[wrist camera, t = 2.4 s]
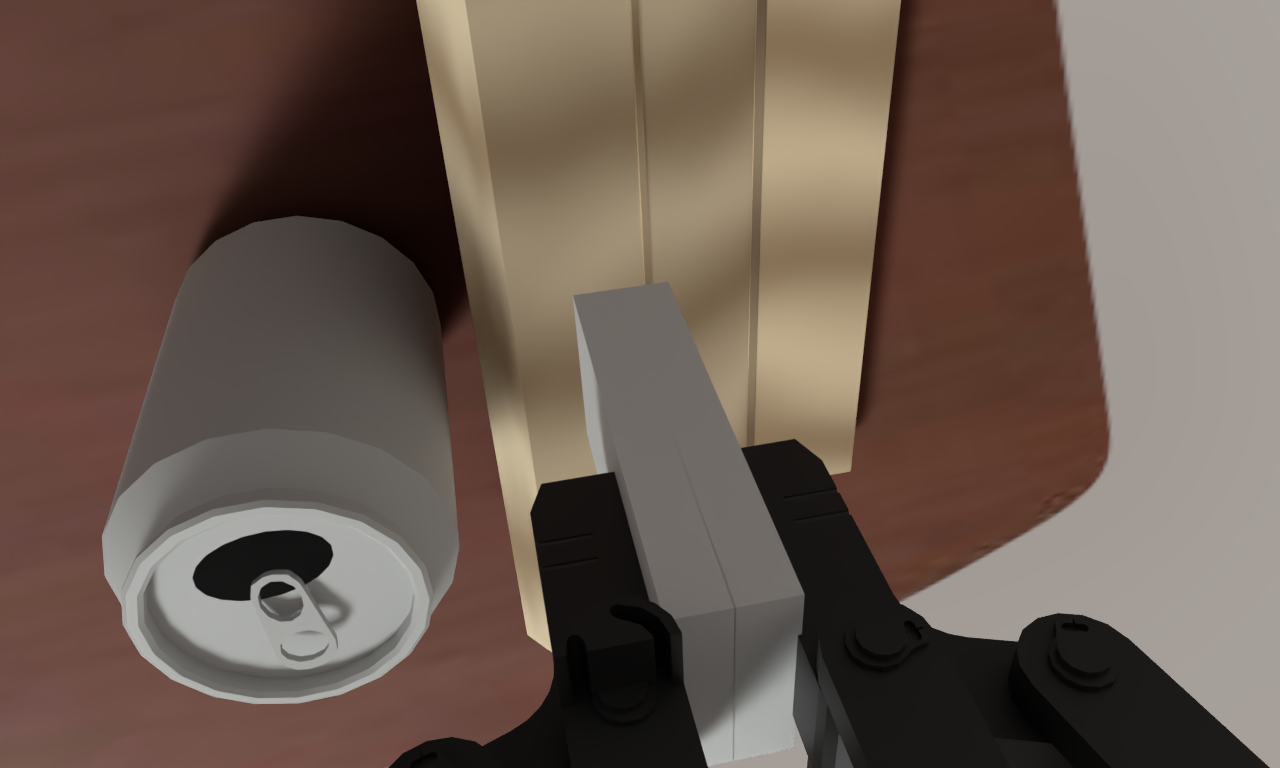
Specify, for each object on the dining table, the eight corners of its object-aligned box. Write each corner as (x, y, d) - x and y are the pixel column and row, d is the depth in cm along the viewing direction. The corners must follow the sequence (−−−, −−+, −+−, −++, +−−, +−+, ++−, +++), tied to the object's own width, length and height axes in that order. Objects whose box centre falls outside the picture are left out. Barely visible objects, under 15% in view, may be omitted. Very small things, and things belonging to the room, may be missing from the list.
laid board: (741, -130, 26) (759, -118, 24) (891, -144, 26) (916, -133, 25) (733, 462, 38) (745, 490, 36) (836, 445, 38) (850, 472, 37)
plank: (410, -32, 20) (463, -20, 19) (709, -125, 25) (760, -118, 24) (527, 634, 32) (562, 659, 31) (711, 472, 37) (746, 490, 36)
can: (385, 168, 28) (387, 436, 19) (472, 372, 33) (508, 669, 24) (127, 247, 28) (-2, 558, 19) (251, 441, 33) (198, 768, 23)
